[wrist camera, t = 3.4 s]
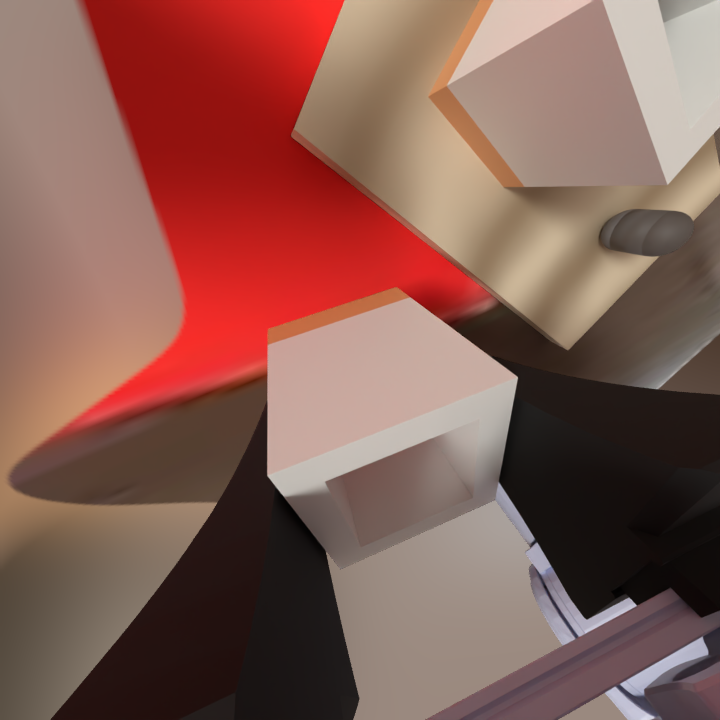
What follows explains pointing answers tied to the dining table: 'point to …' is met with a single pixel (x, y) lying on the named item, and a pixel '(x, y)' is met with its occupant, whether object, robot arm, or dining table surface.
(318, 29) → the dining table surface
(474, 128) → the seated sleeve
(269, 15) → the dining table surface
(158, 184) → the dining table surface
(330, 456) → the loose sleeve
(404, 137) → the pin board
